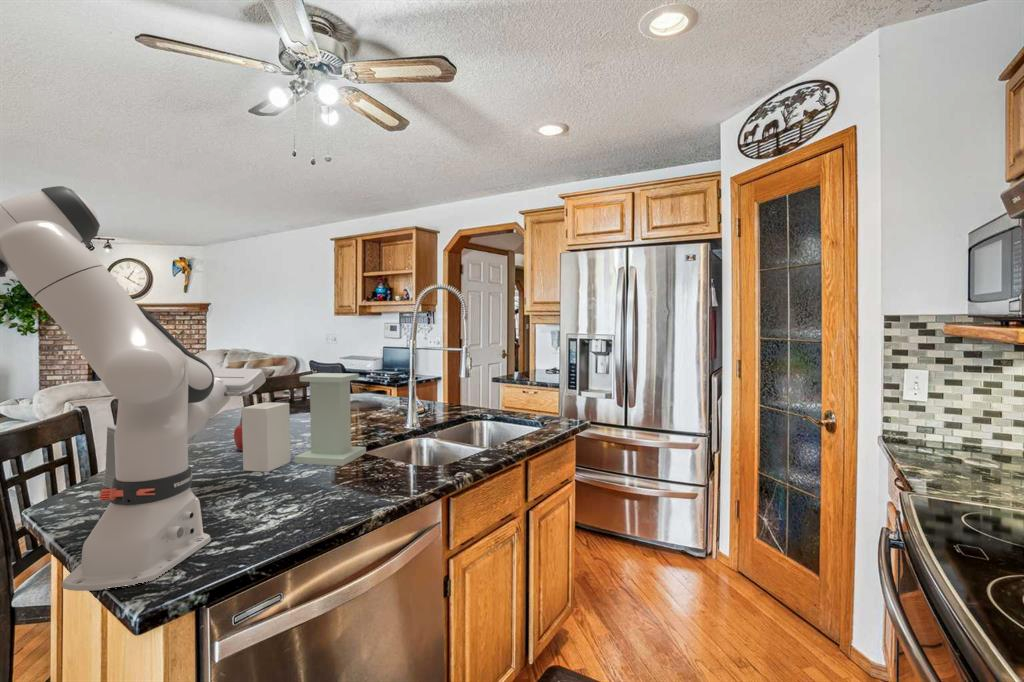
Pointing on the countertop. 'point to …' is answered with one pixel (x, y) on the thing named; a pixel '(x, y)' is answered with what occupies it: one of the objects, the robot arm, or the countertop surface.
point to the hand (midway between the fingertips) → (243, 363)
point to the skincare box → (110, 457)
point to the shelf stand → (330, 420)
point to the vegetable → (238, 437)
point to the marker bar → (259, 362)
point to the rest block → (266, 436)
